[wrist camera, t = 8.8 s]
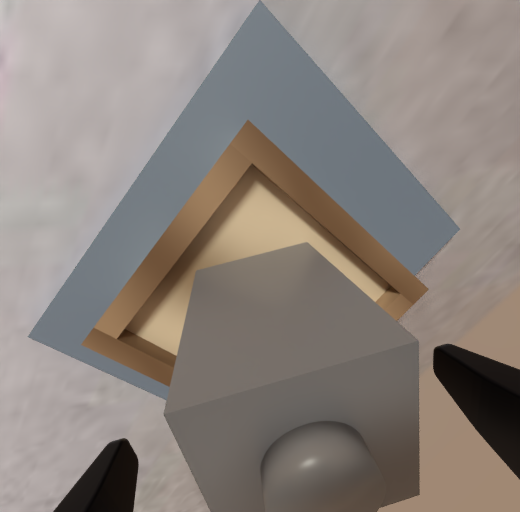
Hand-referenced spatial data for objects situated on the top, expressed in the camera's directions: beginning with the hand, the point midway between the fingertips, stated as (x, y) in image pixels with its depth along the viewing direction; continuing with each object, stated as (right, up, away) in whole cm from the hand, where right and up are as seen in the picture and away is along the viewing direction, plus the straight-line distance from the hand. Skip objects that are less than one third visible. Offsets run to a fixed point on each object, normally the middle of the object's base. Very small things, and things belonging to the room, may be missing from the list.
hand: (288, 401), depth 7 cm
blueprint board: (-1, +3, +9) cm, 9 cm away
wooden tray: (-1, +3, +8) cm, 8 cm away
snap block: (-1, +2, +5) cm, 5 cm away
